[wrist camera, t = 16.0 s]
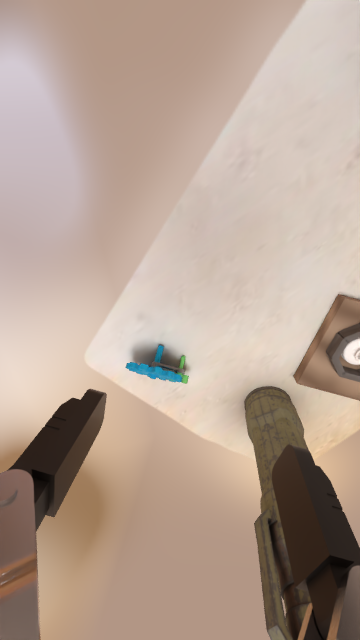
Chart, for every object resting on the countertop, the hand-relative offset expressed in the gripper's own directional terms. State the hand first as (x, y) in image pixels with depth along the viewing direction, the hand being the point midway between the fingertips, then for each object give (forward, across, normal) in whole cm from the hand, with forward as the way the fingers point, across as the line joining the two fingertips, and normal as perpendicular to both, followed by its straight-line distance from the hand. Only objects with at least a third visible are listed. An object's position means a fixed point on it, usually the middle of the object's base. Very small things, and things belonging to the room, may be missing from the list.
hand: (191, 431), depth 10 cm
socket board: (+30, -26, +6) cm, 40 cm away
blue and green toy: (+30, +4, +18) cm, 36 cm away
